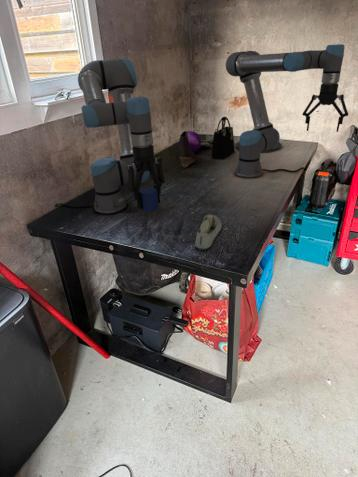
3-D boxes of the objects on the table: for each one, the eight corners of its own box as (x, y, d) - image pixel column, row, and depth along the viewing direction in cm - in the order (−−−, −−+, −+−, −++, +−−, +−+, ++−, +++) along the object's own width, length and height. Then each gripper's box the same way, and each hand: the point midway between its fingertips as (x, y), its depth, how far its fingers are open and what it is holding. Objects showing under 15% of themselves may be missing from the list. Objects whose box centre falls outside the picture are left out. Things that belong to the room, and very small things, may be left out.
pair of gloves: (199, 151, 237) (198, 143, 234) (184, 143, 257) (184, 136, 255) (235, 144, 246) (235, 137, 244) (218, 138, 267) (218, 131, 264)
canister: (151, 202, 132) (149, 185, 128) (162, 207, 127) (160, 189, 123) (136, 208, 128) (134, 190, 124) (147, 213, 123) (145, 195, 120)
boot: (197, 157, 223) (197, 126, 213) (191, 168, 203) (190, 135, 193) (185, 157, 225) (183, 126, 215) (178, 168, 205) (176, 135, 195)
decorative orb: (204, 151, 235) (204, 129, 228) (194, 156, 225) (193, 134, 217) (186, 149, 243) (186, 128, 235) (175, 154, 232) (174, 132, 224)
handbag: (222, 159, 215) (223, 120, 203) (210, 158, 220) (210, 119, 207) (235, 151, 230) (236, 114, 218) (223, 150, 234) (224, 113, 222)
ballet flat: (225, 222, 139) (225, 205, 135) (213, 252, 119) (212, 233, 115) (205, 220, 141) (205, 203, 137) (190, 250, 121) (189, 231, 117)
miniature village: (250, 138, 260) (251, 126, 256) (289, 145, 237) (291, 132, 233) (223, 147, 242) (223, 134, 237) (263, 155, 219) (264, 141, 215)
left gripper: (122, 153, 108) (131, 215, 119) (172, 141, 118) (175, 200, 129) (112, 148, 113) (121, 209, 125) (160, 138, 123) (164, 195, 135)
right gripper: (300, 84, 152) (294, 131, 163) (360, 83, 144) (350, 133, 154) (301, 82, 158) (296, 128, 169) (359, 81, 149) (350, 129, 160)
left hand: (149, 204), depth 127 cm, fingers closed on canister, 7 cm apart
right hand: (322, 130), depth 162 cm, fingers open, 13 cm apart
